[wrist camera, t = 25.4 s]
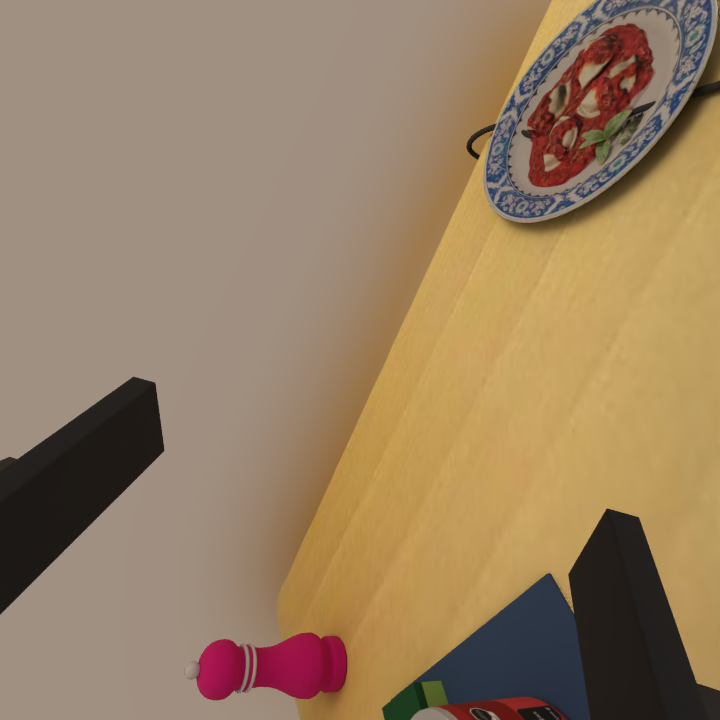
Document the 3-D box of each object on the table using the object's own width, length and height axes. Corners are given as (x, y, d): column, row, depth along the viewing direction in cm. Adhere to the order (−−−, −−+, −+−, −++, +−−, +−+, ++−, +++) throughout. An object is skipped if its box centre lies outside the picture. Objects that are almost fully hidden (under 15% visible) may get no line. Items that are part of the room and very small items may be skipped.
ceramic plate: (485, 133, 64) (469, 122, 63) (673, -66, 45) (657, -88, 44) (510, 273, 52) (492, 264, 51) (785, 83, 33) (767, 59, 31)
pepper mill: (353, 648, 58) (198, 653, 49) (341, 709, 57) (180, 726, 48) (330, 622, 64) (188, 622, 55) (318, 676, 63) (172, 686, 54)
